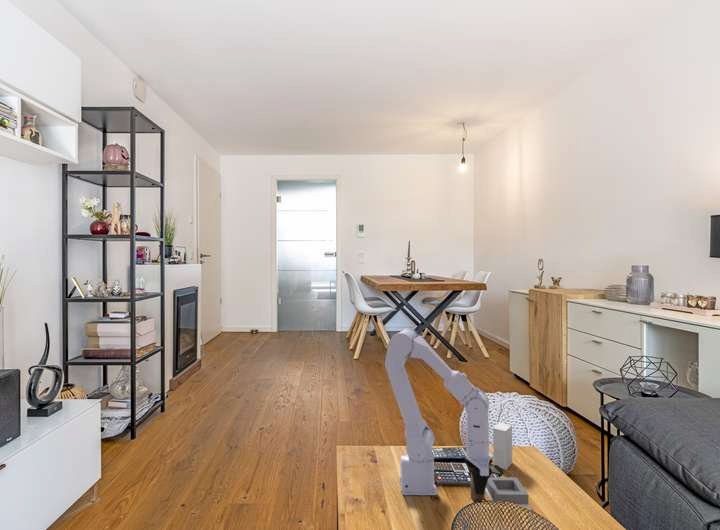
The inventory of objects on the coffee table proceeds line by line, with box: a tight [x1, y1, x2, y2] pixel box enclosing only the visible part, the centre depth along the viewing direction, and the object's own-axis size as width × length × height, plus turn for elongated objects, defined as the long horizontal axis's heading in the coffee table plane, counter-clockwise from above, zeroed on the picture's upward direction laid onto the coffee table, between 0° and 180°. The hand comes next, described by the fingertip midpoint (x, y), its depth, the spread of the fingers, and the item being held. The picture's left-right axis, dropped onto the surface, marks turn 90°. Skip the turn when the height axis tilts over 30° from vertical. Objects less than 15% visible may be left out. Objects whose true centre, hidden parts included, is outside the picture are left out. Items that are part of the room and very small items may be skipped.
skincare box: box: [492, 422, 513, 471], centre depth 132 cm, size 6×4×12 cm
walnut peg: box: [470, 474, 486, 502], centre depth 113 cm, size 4×4×7 cm
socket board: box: [485, 476, 533, 511], centre depth 113 cm, size 9×12×4 cm
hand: (477, 489), depth 113 cm, fingers closed on walnut peg, 4 cm apart
